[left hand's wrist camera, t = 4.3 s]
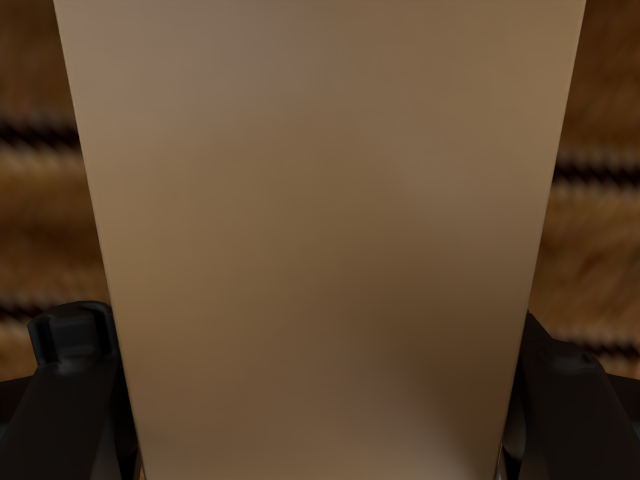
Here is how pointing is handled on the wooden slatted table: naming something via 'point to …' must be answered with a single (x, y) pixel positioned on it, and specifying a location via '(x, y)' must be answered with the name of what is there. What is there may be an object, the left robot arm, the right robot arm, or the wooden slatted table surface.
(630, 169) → the wooden slatted table surface
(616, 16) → the wooden slatted table surface
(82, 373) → the left robot arm
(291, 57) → the bar
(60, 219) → the wooden slatted table surface
